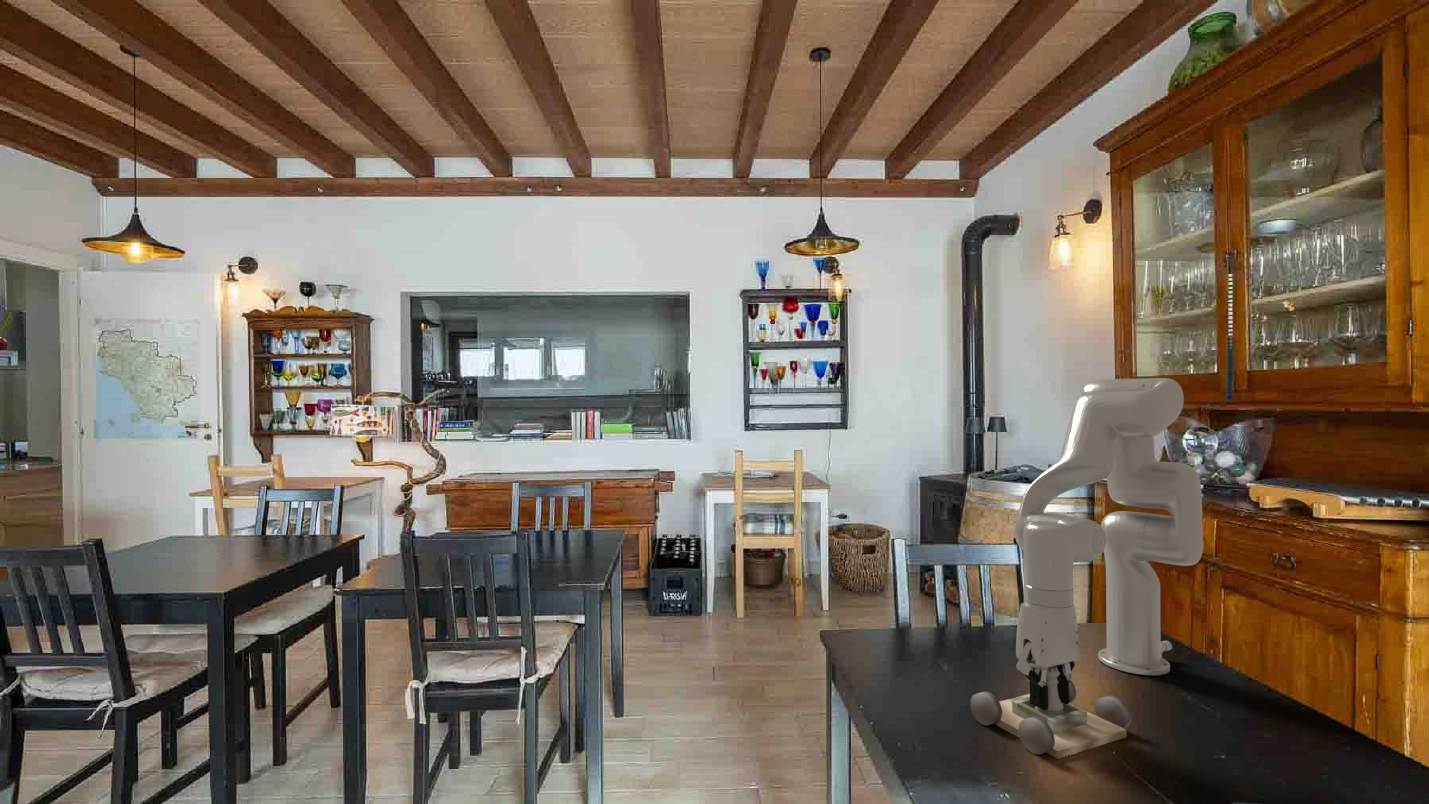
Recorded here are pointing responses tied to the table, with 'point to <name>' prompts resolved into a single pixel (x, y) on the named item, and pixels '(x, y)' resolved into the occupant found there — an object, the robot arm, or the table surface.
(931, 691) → the table surface
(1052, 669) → the rook chess piece
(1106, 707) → the car chassis
